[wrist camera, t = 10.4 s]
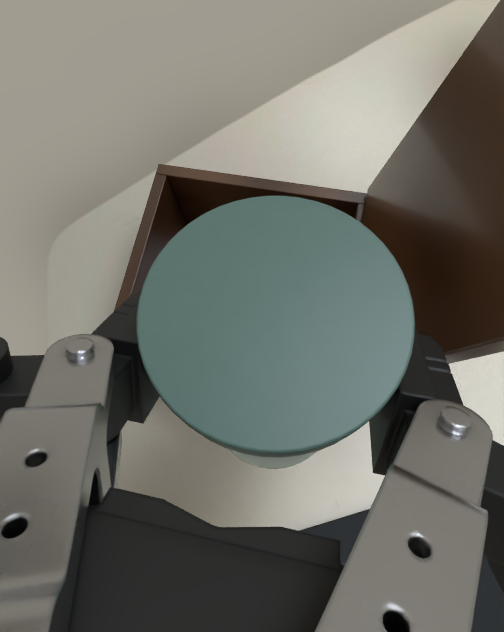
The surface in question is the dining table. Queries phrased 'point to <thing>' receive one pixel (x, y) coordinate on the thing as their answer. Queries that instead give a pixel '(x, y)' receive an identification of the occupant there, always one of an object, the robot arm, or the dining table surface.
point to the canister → (275, 327)
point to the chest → (209, 209)
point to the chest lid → (452, 203)
